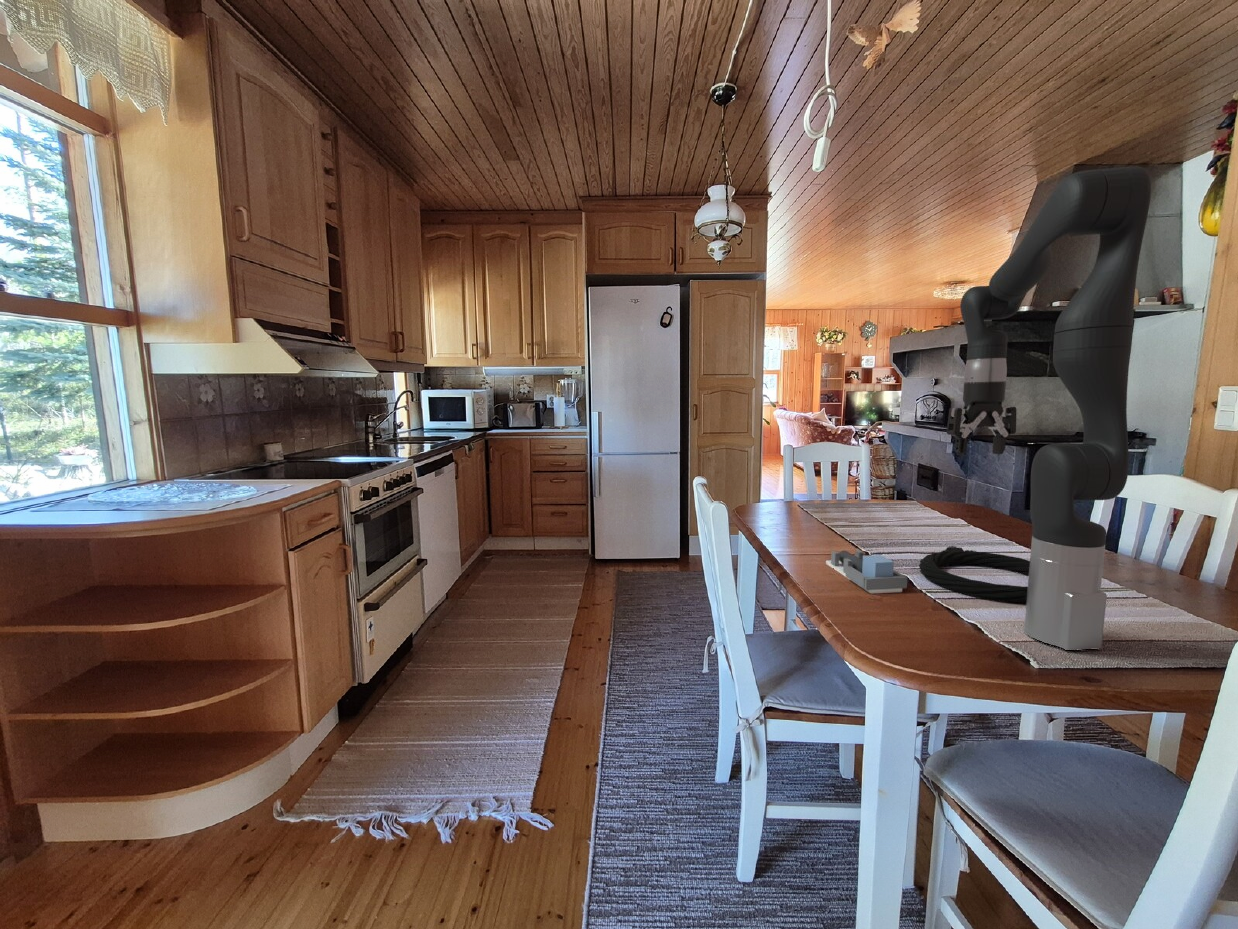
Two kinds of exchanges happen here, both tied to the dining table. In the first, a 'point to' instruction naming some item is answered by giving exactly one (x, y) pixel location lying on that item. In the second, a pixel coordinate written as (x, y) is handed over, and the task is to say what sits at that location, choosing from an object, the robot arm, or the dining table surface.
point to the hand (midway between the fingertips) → (979, 454)
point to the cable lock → (975, 587)
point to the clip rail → (868, 583)
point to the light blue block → (869, 564)
